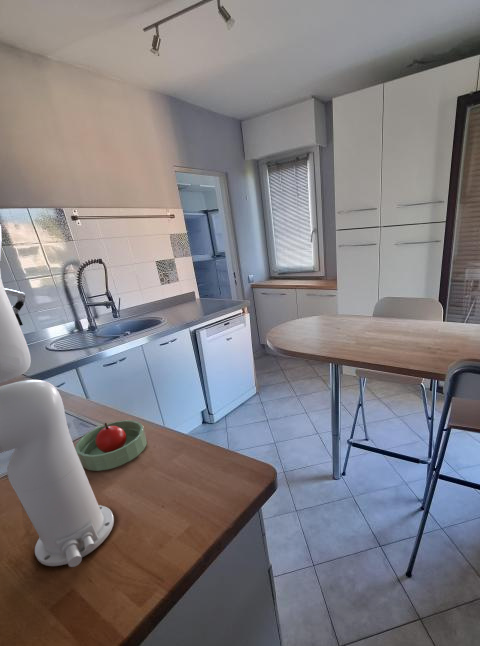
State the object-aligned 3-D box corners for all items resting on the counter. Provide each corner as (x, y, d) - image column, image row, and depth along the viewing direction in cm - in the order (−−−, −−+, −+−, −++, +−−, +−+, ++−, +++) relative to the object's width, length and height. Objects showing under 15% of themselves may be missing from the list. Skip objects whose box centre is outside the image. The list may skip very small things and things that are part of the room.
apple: (133, 449, 85) (124, 422, 82) (104, 462, 81) (93, 434, 78) (124, 439, 90) (116, 412, 87) (97, 450, 86) (86, 423, 82)
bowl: (156, 451, 85) (151, 435, 83) (90, 482, 76) (83, 465, 74) (136, 428, 96) (131, 414, 94) (76, 454, 86) (69, 438, 84)
